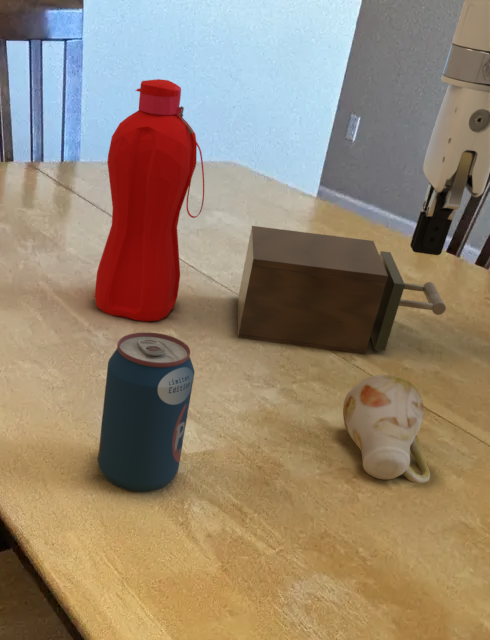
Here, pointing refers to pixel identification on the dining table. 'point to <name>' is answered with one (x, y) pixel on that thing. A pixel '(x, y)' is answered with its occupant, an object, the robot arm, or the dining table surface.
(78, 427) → the dining table surface
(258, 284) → the cabinet
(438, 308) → the drawer
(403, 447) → the mug
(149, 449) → the soda can
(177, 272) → the water bottle
